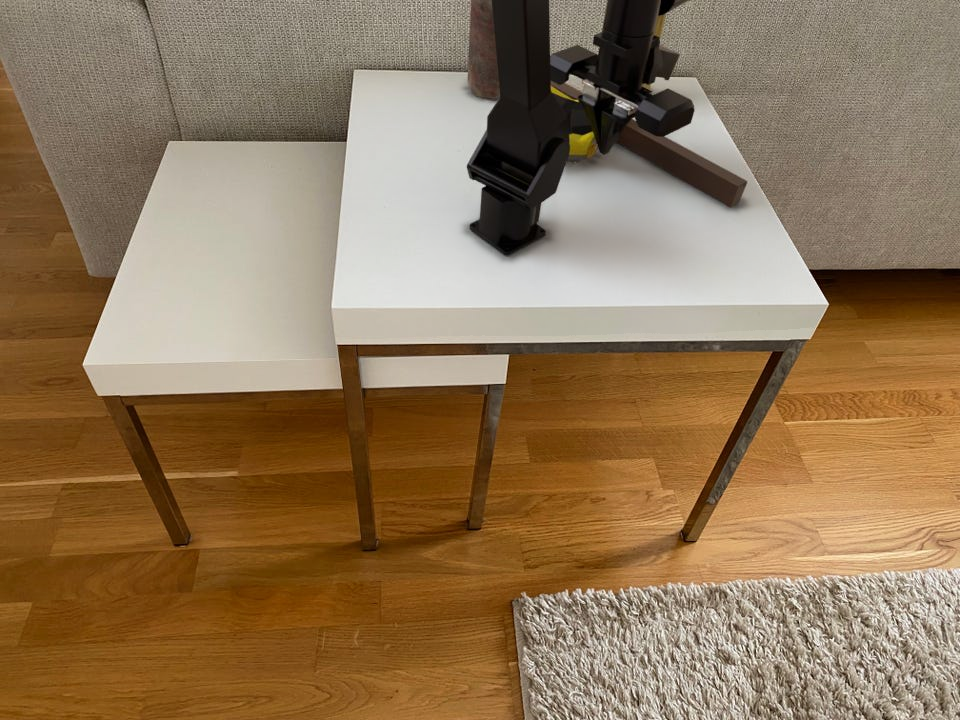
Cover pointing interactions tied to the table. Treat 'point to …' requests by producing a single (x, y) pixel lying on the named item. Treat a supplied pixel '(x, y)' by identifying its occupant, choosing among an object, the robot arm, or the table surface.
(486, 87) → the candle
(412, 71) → the table surface
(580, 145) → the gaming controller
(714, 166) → the back rail
